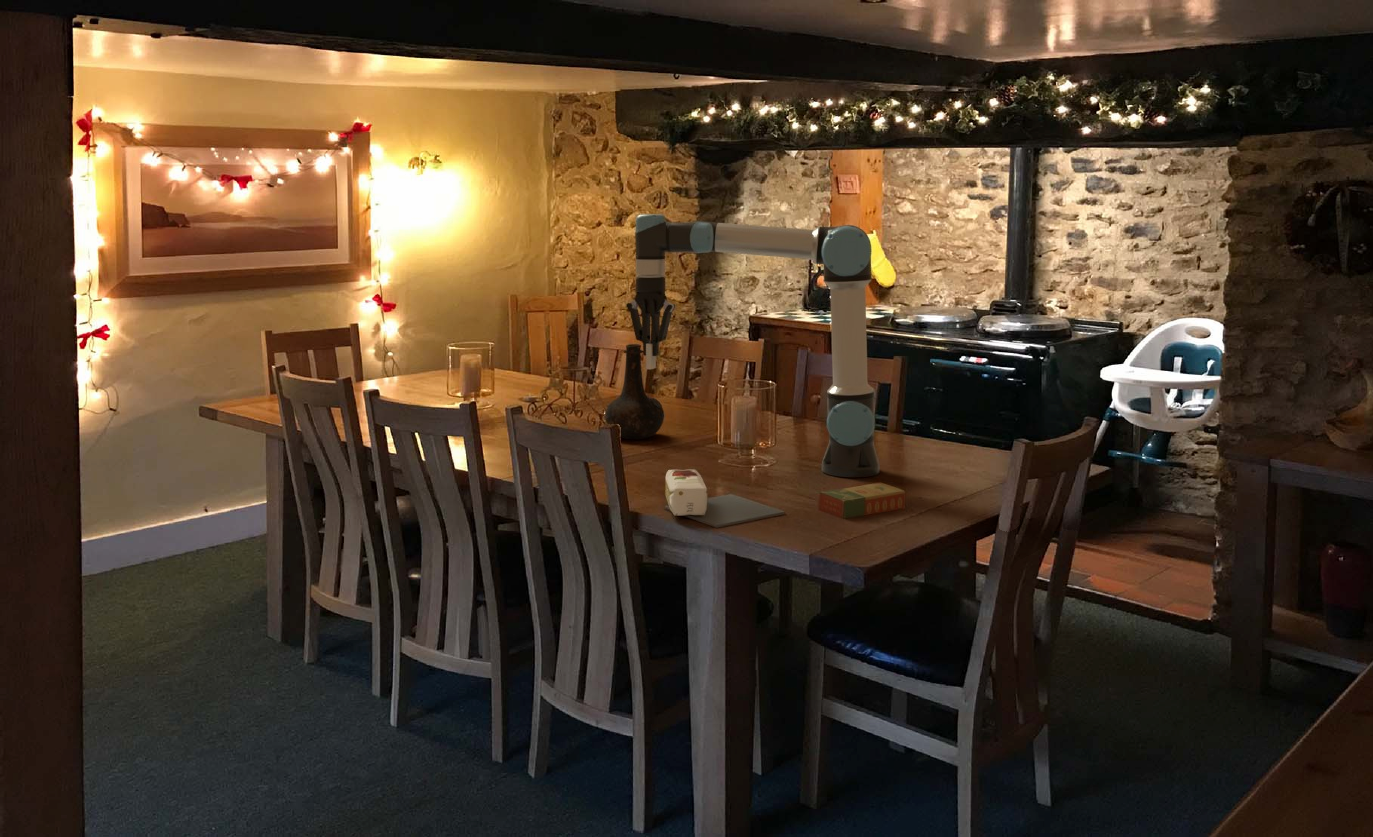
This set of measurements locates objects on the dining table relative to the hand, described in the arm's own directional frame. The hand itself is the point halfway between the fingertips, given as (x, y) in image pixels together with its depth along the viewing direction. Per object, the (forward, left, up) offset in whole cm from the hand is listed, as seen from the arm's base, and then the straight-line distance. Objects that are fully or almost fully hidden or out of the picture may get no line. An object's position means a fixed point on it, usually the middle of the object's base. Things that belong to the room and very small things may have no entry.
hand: (651, 368), depth 308 cm
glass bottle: (+26, -43, -28) cm, 58 cm away
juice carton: (-18, +20, -24) cm, 36 cm away
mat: (-31, +26, -28) cm, 49 cm away
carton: (-59, +10, -29) cm, 67 cm away
